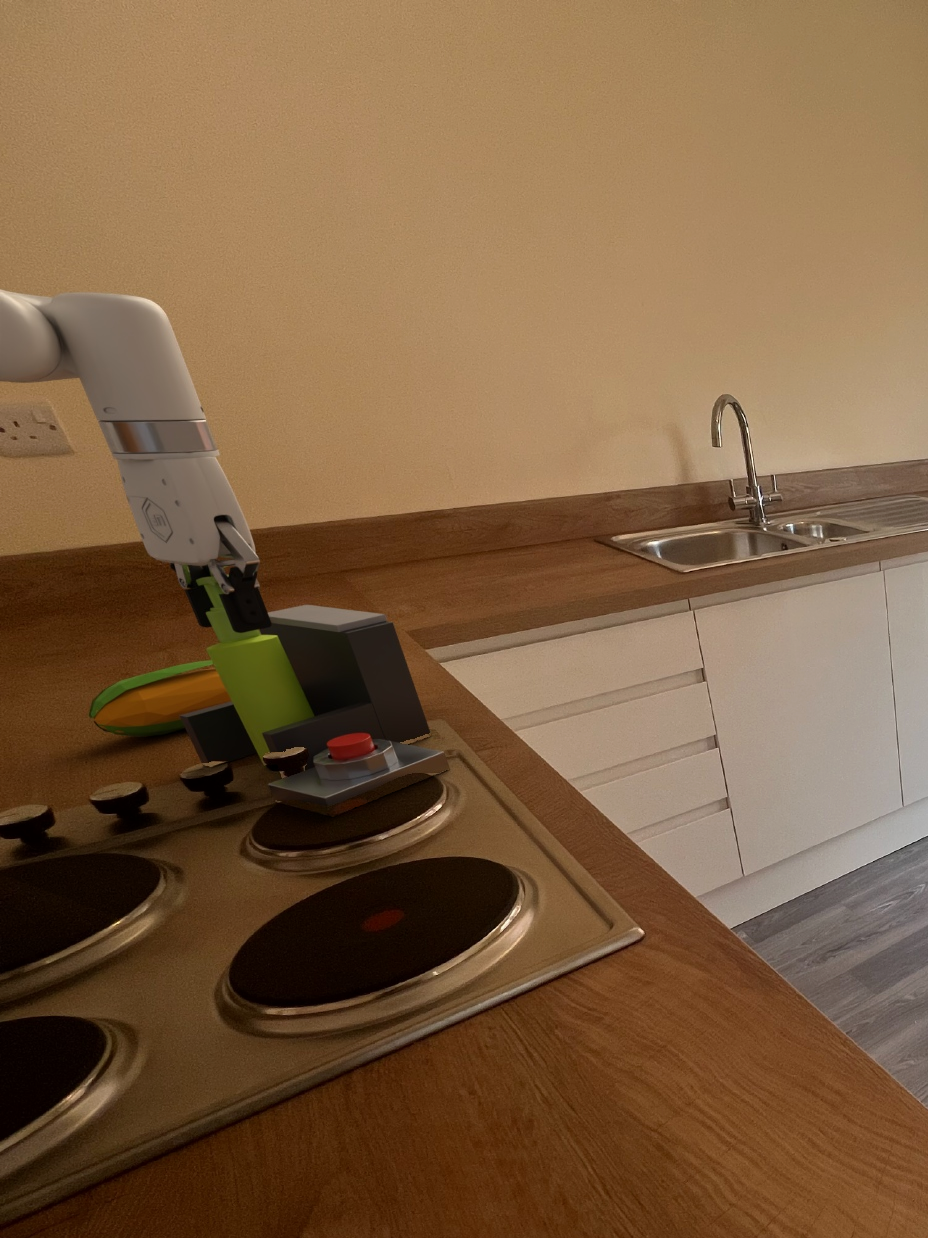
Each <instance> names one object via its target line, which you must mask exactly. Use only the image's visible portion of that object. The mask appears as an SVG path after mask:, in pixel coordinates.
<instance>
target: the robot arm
mask: <svg viewBox="0 0 928 1238" xmlns="http://www.w3.org/2000/svg"><path fill="white" fill-rule="evenodd" d="M72 379H79V380H80V383H81V385H82V387H83V390H84V393H85V394H86V397H87V400H88V402H89V404H90V406H91V408H92V411H93V413H94V417H95V418H96V421H97V423H98V425H99V428H100V430H101V433H102V435H103V437H104V439H105V442H106V444H107V446H108V449H109V451H110V453H111V456H112V458H113V460H116V461H117V466H118V471H119V475H120V480H121V484H122V487H123V490H124V494H125V496H126V499H127V502H128V505H129V508H130V510H131V511H130V512H131V514H132V516H133V520H134V522H135V525H136V527H137V530H138V532H139V535H140V538H141V540H142V543H143V546H144V548H145V550H146V552H147V554H148V555H149V556H150V557H151V558H153V559H154V560H156V561H160V562H162V563H169V567H170V569H171V570H173V572H175V573H176V576H177V580H178V583H179V585H180V586H181V588H182V589H184V592H185V595H186V597H187V600H188V602H189V604H190V606H191V609H192V611H193V614H194V616H195V618H196V621H197V623H198V626H200V627H201V628H206V629H207V628H213V627H212V625H211V623H210V621H209V619H208V617H207V615H206V612H208V611H211V610H210V608H214V606H213V604H212V602H211V600H210V598H209V595H208V593H207V591H206V589H205V587H204V585H200V586H198V584H197V582H196V580H197V579H200V578H204V577H211V576H214V577H215V579H216V580H217V582H218V584H219V586H220V588H221V589H222V591H223V592H224V594H219V596H220V599H221V601H222V604H223V606H224V609H225V611H226V614H227V616H228V619H229V621H230V624H231V626H232V629H233V631H235V632H237V633H244V632H249V631H254V630H259V629H263V628H268V627H271V625H272V623H271V620H270V617H269V615H268V613H269V611H268V609H267V607H266V605H265V602H264V599H263V596H262V594H261V592H260V589H261V584H260V582H259V580H258V578H257V577H258V569H259V566H260V563H261V560H260V558H259V556H258V555H257V553H256V546H255V542H254V539H253V536H252V533H251V529H250V527H249V525H248V522H247V520H246V517H245V515H244V512H243V510H242V508H241V506H240V503H239V501H238V499H237V496H236V494H235V492H234V490H233V488H232V486H231V484H230V481H229V479H228V478H227V476H226V474H225V472H224V470H223V468H222V466H221V464H220V462H219V460H218V459H217V457H220V456H221V454H220V451H219V447H218V446H217V443H216V440H215V438H214V435H213V432H212V429H211V427H210V424H209V421H208V420H207V417H206V415H205V411H204V408H203V406H202V404H201V401H200V399H199V396H198V394H197V393H198V392H197V390H196V387H195V385H194V382H193V379H192V376H191V373H190V371H189V369H188V366H187V364H186V361H185V357H184V356H183V353H182V351H181V347H180V345H179V342H178V340H177V337H176V333H175V332H174V329H173V326H172V324H171V321H170V319H169V317H168V315H167V314H166V311H164V309H163V308H162V307H161V306H160V305H159V304H157V303H156V302H154V301H153V300H151V299H149V298H145V297H142V296H137V295H131V294H121V293H111V292H110V293H107V292H90V291H89V292H87V291H74V292H62V293H58V294H56V295H55V296H54V297H52V296H42V295H35V294H28V293H27V294H26V293H21V292H14V291H9V290H4V289H1V288H0V382H5V383H15V384H16V383H17V384H20V383H21V384H30V383H31V384H33V383H43V382H52V381H53V382H54V381H60V380H72ZM218 558H225V559H223V560H222V559H221V560H217V559H218ZM227 568H229V570H228V571H229V573H228V575H229V576H227V572H226V571H225V569H227ZM259 631H260V630H259Z"/></svg>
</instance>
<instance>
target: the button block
mask: <svg viewBox="0 0 928 1238" xmlns="http://www.w3.org/2000/svg"><path fill="white" fill-rule="evenodd" d="M372 742H373V744H374V747H375V749H376V750H374V751H373V752H371V753H368V754H365V755H363V756H359V757H354V758H349V759H337V760H334V759H332V756H331V754H330V751H329V749H326V750H323V751H322V752H320V753H319V754H317V755H315V756H314V757H313V759H314V765H315V767H314V768H311V769H308V770H305V771H303V772H300V773H297V774H294V775H291V776H289V777H286V778H283V779H282V778H281V779H280V778H279V779H277V780H275V781H272V782H269V783H267V786H268V789H269V790H270V793H271V795H272V797H273V800H274V801H275V800H277V801H288V800H298V801H302V802H310V803H317V804H319V805H324V806H332V805H335V804H337V803H341V802H343V801H345V800H347V799H349V798H352V797H355V796H357V795H359V794H362V793H365V792H367V791H369V790H372V789H374V788H376V787H379V786H381V785H383V784H385V783H387V782H389V781H392V780H394V779H396V778H398V777H402V776H405V775H407V774H412V773H440V772H442V771H445V770H448V769H450V770H451V767H450V765H449V761H448V759H447V756H446V753H445V752H444V751H442V750H438V749H432V748H427V747H422V746H417V745H413V744H410V745H407V744H402V743H397V742H392V741H387V740H382V739H372Z"/></svg>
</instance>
